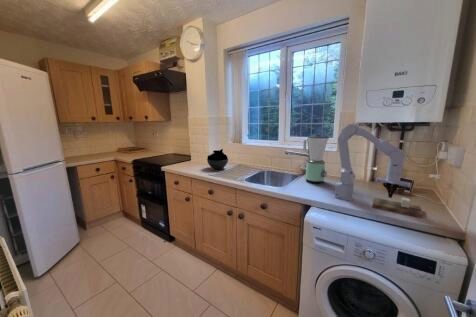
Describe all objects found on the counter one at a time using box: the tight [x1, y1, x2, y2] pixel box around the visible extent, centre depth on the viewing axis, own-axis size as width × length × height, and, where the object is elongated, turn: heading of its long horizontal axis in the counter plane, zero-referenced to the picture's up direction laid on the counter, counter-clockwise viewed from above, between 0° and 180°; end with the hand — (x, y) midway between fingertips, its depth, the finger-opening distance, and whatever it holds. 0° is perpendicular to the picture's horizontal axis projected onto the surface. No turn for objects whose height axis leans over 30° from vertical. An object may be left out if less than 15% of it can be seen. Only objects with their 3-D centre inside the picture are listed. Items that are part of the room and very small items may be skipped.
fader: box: [400, 197, 411, 208], centre depth 102 cm, size 3×5×4 cm, turn 142°
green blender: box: [302, 134, 330, 185], centre depth 149 cm, size 19×13×35 cm
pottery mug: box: [382, 183, 406, 195], centre depth 129 cm, size 12×10×8 cm
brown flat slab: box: [371, 197, 424, 219], centre depth 105 cm, size 20×11×2 cm, turn 52°
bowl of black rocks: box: [206, 148, 229, 170], centre depth 189 cm, size 20×20×19 cm
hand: (390, 197), depth 106 cm, fingers closed
